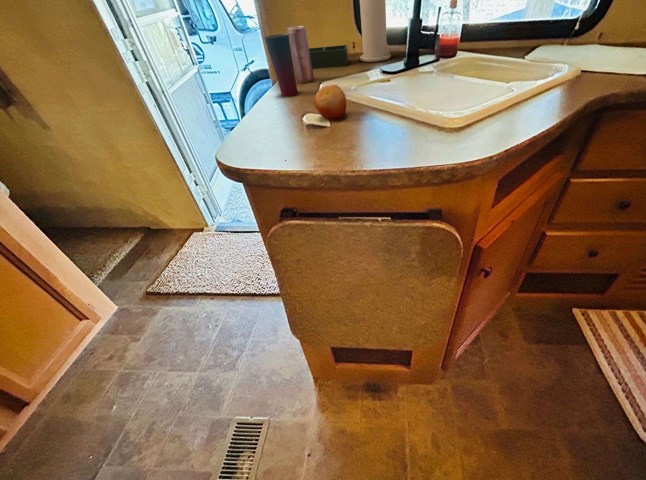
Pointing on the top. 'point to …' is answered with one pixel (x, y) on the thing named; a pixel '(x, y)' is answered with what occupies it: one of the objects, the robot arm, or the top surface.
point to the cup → (282, 62)
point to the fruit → (330, 102)
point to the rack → (329, 56)
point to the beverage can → (300, 54)
